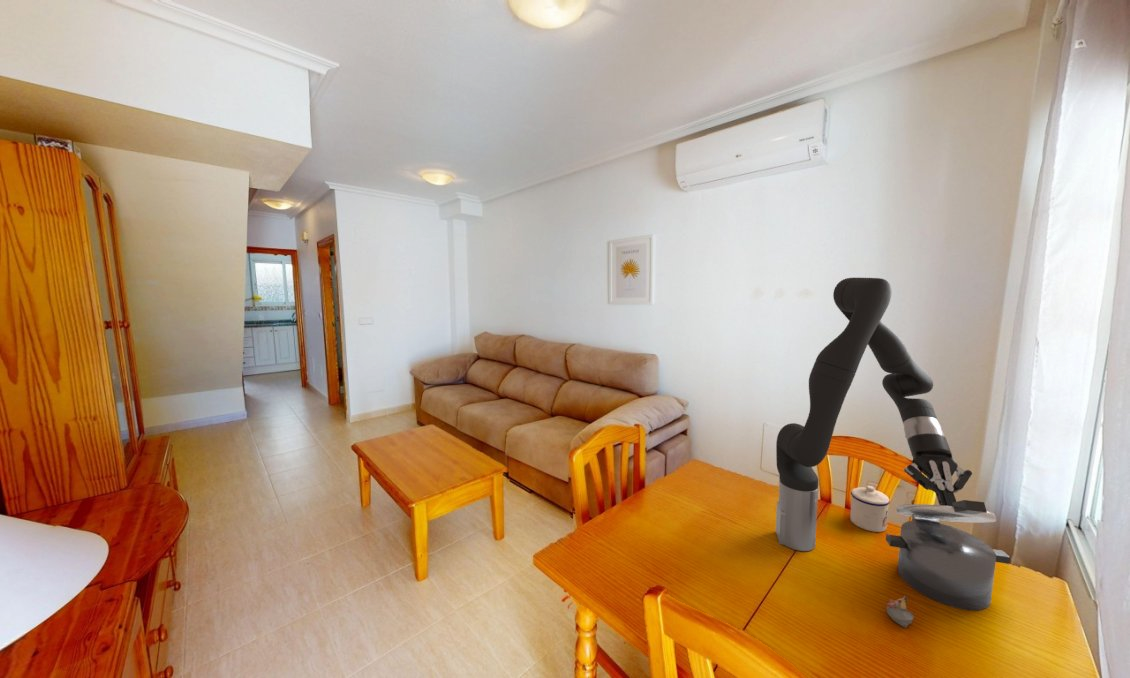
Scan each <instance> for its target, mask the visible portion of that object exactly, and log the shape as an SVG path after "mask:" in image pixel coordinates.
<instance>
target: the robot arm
mask: <svg viewBox="0 0 1130 678" xmlns="http://www.w3.org/2000/svg"><path fill="white" fill-rule="evenodd" d="M892 295H893V289H892V286H891V284H890V282H889V281H888V280H887V279H884V278H880V277H847V278H844V279H841V280H840V281H839V282H838V283H837V284H836V286H835V287H834V289H833V295H832V297H833V301H834V303H835V305H836V307H837V308H838V310H839V311H840V312H841V313H842V315H844V317H845V318H846V319H847V320H848V323H847V325H846V327H845V328H844V330H843V331H842V332H841V333H840V334H839V335H838V336H837V337H836V338H834V339H833V340H832V341H830V342H829V343H828V344H827V345H826V346H825V347H824V348H822V350H821V351H820V352H819V353H818V354H817V357H816V359H815V361H814V364H813V366H812V368H811V370H810V373H809V376H808V377H809V378H808V394H809V412H808V416H807V419H806V422H805V424H804V426H803V425H801V424H799V423H795V422H794V423H788V424H786V425H784V426H782V428H780V430H779V431H778V434H777V437H776V445H775V446H776V448H775V451H776V452H775V453H776V455H775V456H776V458H775V459H776V468H777V472H778V476H779V484H778V501H776V511H775V512H776V516H775V517H776V518H775V519H776V520H775V521H776V522H775V535H776V537H777V540H778V544H779V545H781V546H786V547H788V548H790V549H792V550H795V551H800V552H809V551H812V550H814V549H815V547H816V539H817V537H816V536H817V535H816V534H817V515H818V514H817V513H818V499H819V498H818V497H819V477H818V475H817V473H816V472H815V470H814V469H813V467H816V466H817V465H820V464H821V463H822V462H823V460H824V459H825V457H826V456H827V454H828V451H829V448H830V445H831V441H832V438H833V435H834V431H835V427H836V423H837V420H838V417H839V415H840V412H841V409H842V408H843V407H842V406H843V404H844V402H845V399H846V397H847V393H848V392H849V390H850V387H851V386H852V383H853V381H854V379H855V376H856V373H857V370H858V368H859V365H860V363H861V360H862V358H863V355H864V354H865V351H866V348H867V347H869V349H870V350H871V352H872V354H873V356H874V357H875V359H876V361H877V362H878V365H879V367H880V368H881V369H882V370H883V371H884V372H886V373H888V374H886V375H885V376H884V377H882V387H883V389H884V390H885V392H886V393H887V394H888V396H889V397H890V399H891V400H892V401H893V402H894V404H895V406H896V408H897V410H898V412H899V415H900V419H901V421H902V424H903V430H904V434H905V435H904V437H905V438H906V441H907V445H908V448H909V450H910V454H911V456H912V460H911V462H912V463H911V464H909V465H907V466H906V467H905V468H904V469H903V470H904V472H905V473H906V474H907V475H908V476H909V477H910V478H912V479H913V480H914V481H915V482H916V483H918V484H919V485H920V486H921V488H923V489H925V490H927V491H928V490H929V491H932V492H934V493H935V496H936V498H937V499H936V500H937V501H938V504H939V505H943V506H953V505H952V502H957V500H956V499H957V498H956V496H955V493H956V494H957V493H958V492H959V491H961V490H962V489H963V488H964V487H965V485H966V483H968V481H969V479H970V478H971V477H972V475H973V472H972V471H971V470H970V469H963V468H962V467H960V466H959V465H958V462H957V461H955V460H954V458H953V454H952V453H953V452H952V451H951V449H950V446H949V443H948V441H947V438H946V434H945V432H944V430H943V427H942V425H941V423H940V422H939V420H938V418H937V415H936V413H935V412H936V411H935V410H934V407H933V404H932V403H931V402H930V401H928V399H924V398H911V397H913V396H919V395H924V394H927V393H929V392H931V391H932V390H933V387H934V381H933V379H932V377H931V376H930V374H929V373H928V372H927V371H926V370H925V369H924V368H922V367H921V366H920V365H919V364H918V363H916V361H915V360H914V359H913V357H912V356H911V355H910V353H909V351H908V349H907V347H906V345H905V344H904V342H903V340H902V339H901V338H900V336H899V335H898V334H896V332H894V331H893V330H892V329H891V328H889V327H888V326H887V325H886V324H885V323H884V322H882V318H883V316H884V315H885V313H886V311H887V309H888V306H889V305H890V302H891V299H892ZM908 397H909V398H908ZM954 474H955V476H956V478H957V479H956V480H955V482H954V483H953V475H954Z"/></svg>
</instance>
